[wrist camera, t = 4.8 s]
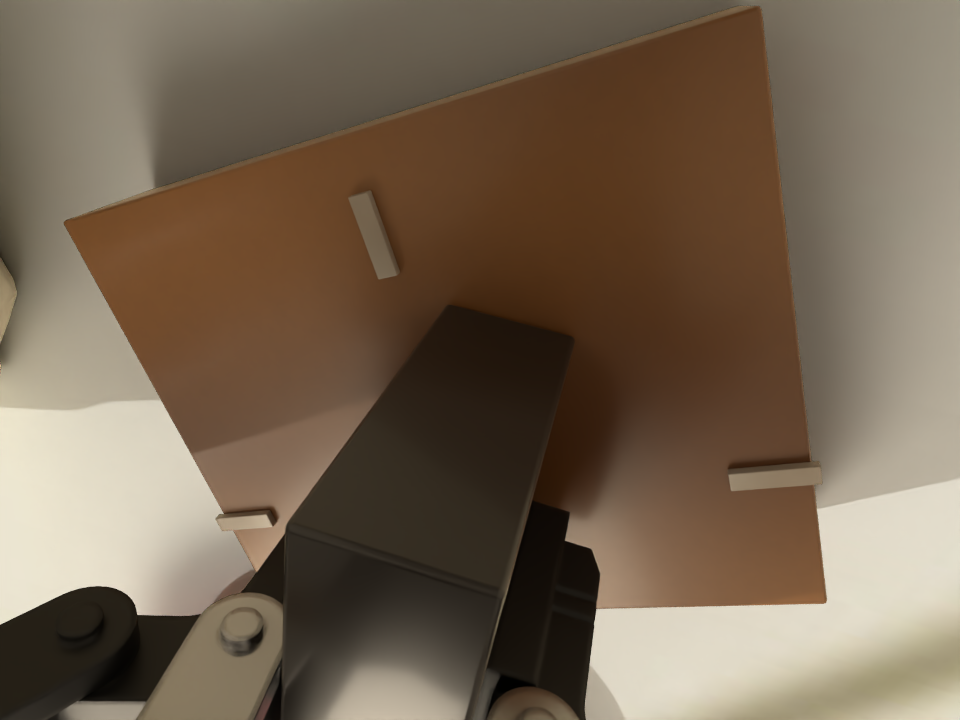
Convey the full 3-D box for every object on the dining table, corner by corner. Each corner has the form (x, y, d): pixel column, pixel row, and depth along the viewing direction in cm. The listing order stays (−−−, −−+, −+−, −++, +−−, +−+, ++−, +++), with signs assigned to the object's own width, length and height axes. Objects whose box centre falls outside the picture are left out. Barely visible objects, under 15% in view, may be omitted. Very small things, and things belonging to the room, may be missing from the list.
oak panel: (147, 190, 14) (50, 226, 12) (748, 2, 10) (772, 0, 8) (361, 626, 19) (321, 708, 17) (820, 619, 15) (848, 727, 13)
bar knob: (447, 301, 11) (267, 542, 6) (576, 335, 11) (499, 617, 6) (397, 618, 15) (266, 918, 10) (490, 649, 15) (402, 973, 10)
